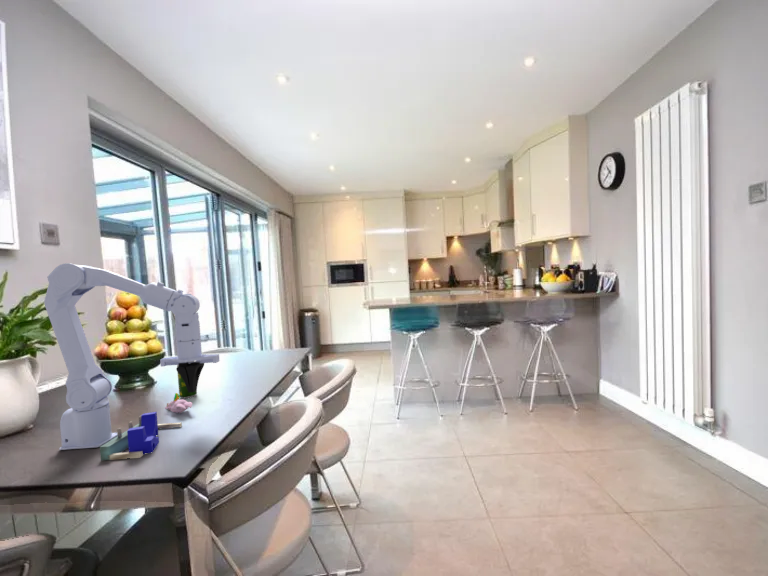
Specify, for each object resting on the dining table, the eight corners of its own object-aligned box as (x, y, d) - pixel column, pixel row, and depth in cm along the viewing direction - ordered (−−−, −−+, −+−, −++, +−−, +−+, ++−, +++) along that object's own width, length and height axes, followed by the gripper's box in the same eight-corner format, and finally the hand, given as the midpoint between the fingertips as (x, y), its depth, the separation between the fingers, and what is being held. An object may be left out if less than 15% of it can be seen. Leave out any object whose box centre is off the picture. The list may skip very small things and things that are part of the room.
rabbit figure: (161, 415, 116) (177, 417, 106) (158, 395, 117) (174, 395, 106) (183, 409, 121) (200, 410, 110) (180, 390, 121) (197, 390, 111)
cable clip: (152, 453, 86) (150, 427, 86) (129, 457, 84) (127, 430, 84) (165, 433, 97) (163, 410, 97) (144, 437, 96) (143, 413, 96)
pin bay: (100, 460, 83) (99, 438, 83) (149, 428, 101) (148, 409, 101) (140, 457, 83) (138, 435, 83) (181, 426, 101) (180, 407, 101)
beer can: (195, 393, 133) (192, 359, 133) (198, 396, 129) (196, 361, 128) (178, 397, 130) (175, 362, 129) (180, 400, 125) (178, 364, 125)
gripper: (151, 344, 96) (156, 397, 96) (209, 340, 96) (213, 393, 96) (167, 340, 103) (171, 389, 103) (221, 336, 103) (224, 386, 103)
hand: (192, 391), depth 100 cm, fingers closed
